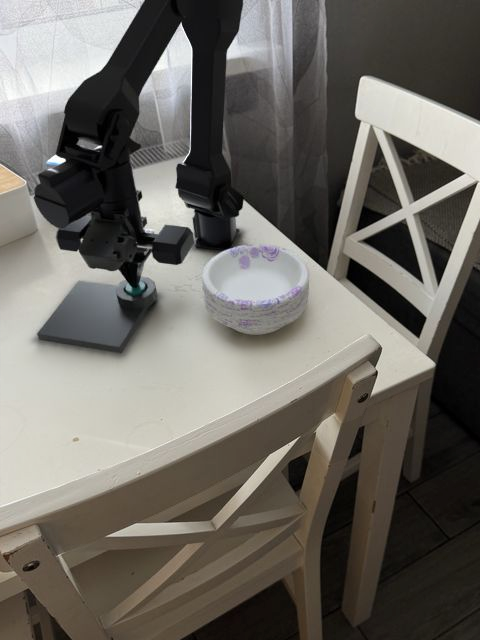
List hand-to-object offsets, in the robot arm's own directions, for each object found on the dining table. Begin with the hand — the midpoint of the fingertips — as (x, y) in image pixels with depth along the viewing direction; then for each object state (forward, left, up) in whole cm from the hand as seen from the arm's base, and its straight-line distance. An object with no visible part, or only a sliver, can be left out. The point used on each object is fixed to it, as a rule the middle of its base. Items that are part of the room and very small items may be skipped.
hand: (135, 286), depth 90 cm
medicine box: (+24, -26, -4) cm, 36 cm away
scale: (+5, +5, -3) cm, 7 cm away
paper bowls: (-18, -1, -4) cm, 19 cm away
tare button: (0, 0, -2) cm, 2 cm away
